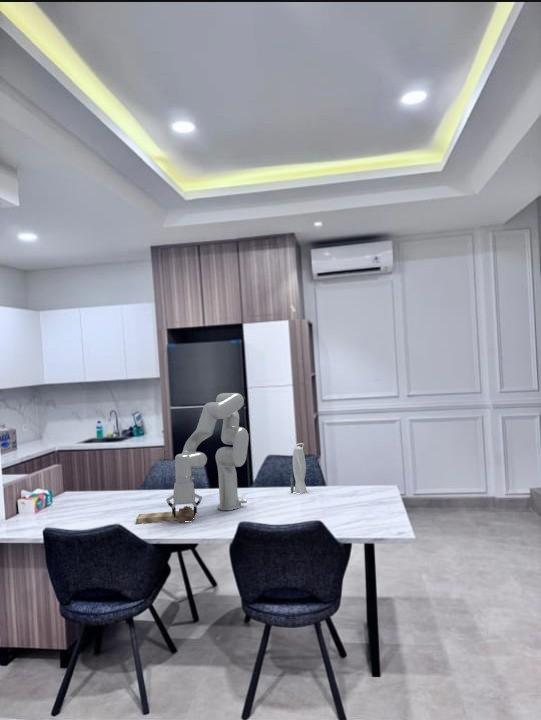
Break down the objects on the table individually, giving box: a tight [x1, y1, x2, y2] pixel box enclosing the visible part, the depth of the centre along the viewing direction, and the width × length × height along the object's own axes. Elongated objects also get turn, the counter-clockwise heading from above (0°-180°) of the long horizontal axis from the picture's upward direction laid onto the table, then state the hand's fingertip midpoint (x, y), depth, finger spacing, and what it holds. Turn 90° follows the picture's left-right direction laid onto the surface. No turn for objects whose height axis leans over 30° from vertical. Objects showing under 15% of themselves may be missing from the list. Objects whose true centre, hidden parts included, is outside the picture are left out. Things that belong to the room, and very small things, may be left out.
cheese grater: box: [289, 442, 308, 495], centre depth 278 cm, size 8×8×28 cm
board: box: [135, 509, 196, 525], centre depth 239 cm, size 28×8×2 cm, turn 96°
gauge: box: [178, 505, 193, 523], centre depth 237 cm, size 6×11×7 cm, turn 6°
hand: (184, 515), depth 234 cm, fingers open, 9 cm apart
